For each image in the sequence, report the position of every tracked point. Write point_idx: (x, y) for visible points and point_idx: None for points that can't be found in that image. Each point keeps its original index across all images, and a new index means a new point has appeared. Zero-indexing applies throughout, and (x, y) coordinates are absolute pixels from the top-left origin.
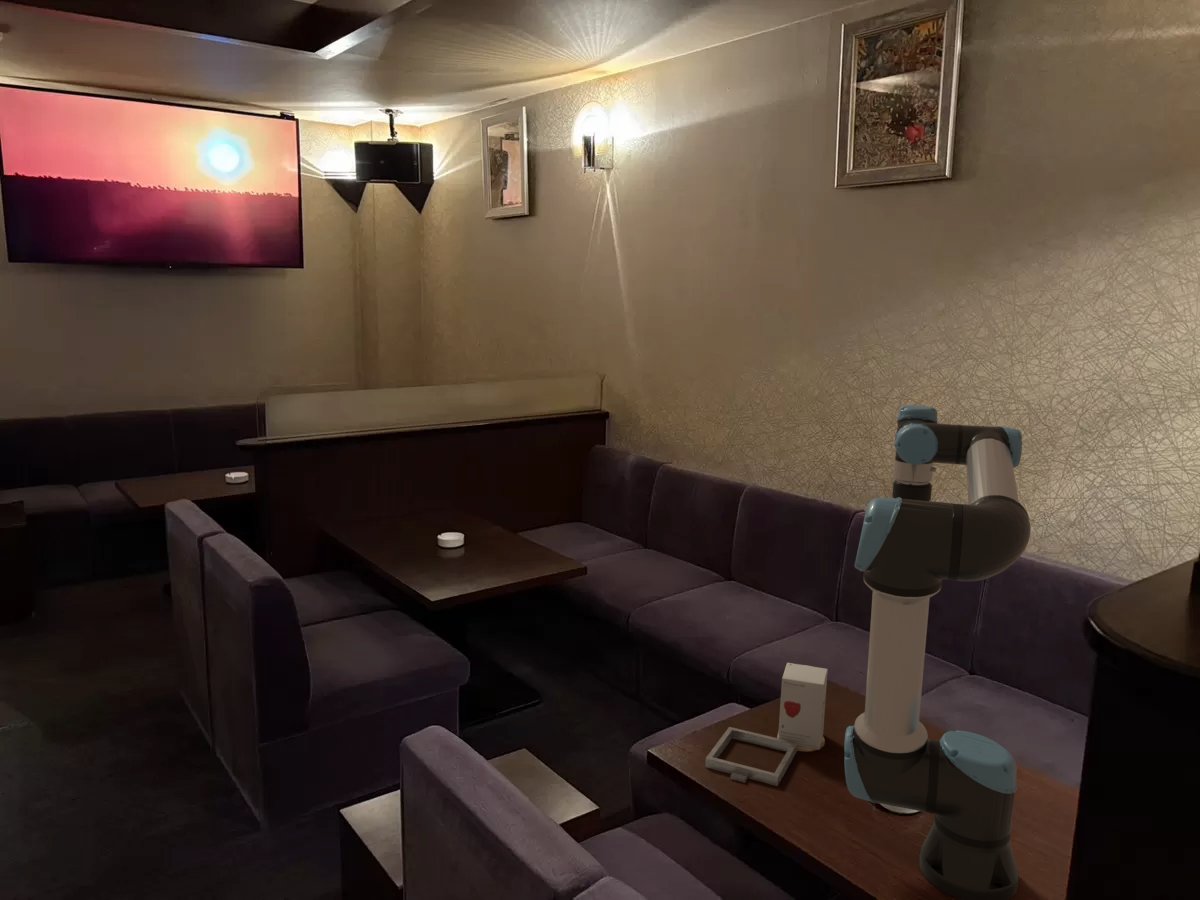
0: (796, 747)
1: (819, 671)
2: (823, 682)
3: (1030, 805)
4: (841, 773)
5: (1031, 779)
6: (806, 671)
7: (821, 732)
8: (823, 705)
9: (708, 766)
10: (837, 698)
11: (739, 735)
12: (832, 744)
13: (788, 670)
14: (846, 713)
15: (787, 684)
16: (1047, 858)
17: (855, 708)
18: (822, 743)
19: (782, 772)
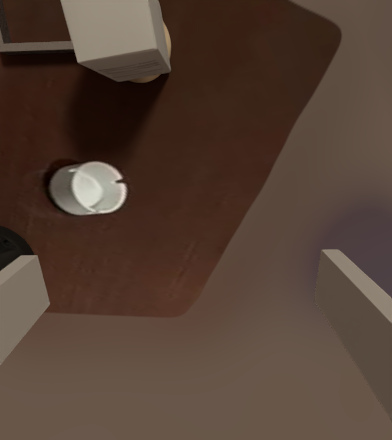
0: None
1: (130, 35)
2: (85, 59)
3: (140, 294)
4: (87, 122)
5: (189, 293)
6: (111, 7)
7: (122, 77)
8: (110, 70)
9: None
10: (296, 62)
11: None
12: (150, 93)
13: None
14: (250, 88)
15: None
16: (65, 306)
17: (272, 97)
18: (137, 80)
19: (24, 52)
